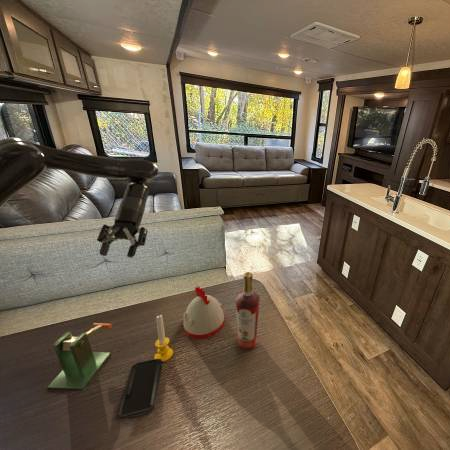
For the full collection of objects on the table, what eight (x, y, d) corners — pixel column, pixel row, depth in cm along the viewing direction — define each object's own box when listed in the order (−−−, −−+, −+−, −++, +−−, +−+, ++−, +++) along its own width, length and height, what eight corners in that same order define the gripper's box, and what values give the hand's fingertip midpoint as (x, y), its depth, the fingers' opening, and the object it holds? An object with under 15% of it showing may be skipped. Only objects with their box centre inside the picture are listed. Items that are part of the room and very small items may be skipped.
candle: (150, 358, 76) (144, 316, 71) (165, 346, 80) (161, 306, 75) (162, 365, 74) (157, 323, 69) (177, 352, 78) (173, 312, 73)
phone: (162, 357, 75) (153, 408, 62) (162, 360, 76) (154, 411, 63) (132, 364, 72) (116, 418, 60) (132, 366, 73) (117, 421, 60)
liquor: (233, 351, 81) (231, 280, 70) (240, 333, 88) (239, 266, 77) (255, 353, 81) (257, 283, 70) (260, 335, 87) (262, 269, 76)
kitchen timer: (211, 304, 99) (209, 273, 94) (231, 323, 91) (231, 290, 86) (176, 322, 89) (172, 289, 84) (196, 345, 81) (192, 310, 76)
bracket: (80, 354, 75) (69, 322, 70) (111, 355, 76) (102, 323, 71) (47, 390, 65) (31, 356, 60) (83, 391, 66) (70, 357, 61)
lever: (95, 328, 78) (95, 320, 78) (111, 329, 78) (112, 321, 78) (56, 350, 65) (57, 341, 64) (76, 351, 65) (77, 342, 65)
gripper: (103, 205, 83) (85, 252, 77) (146, 208, 84) (132, 254, 78) (117, 214, 90) (101, 257, 84) (156, 217, 91) (144, 260, 85)
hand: (116, 256), depth 81 cm, fingers open, 8 cm apart
